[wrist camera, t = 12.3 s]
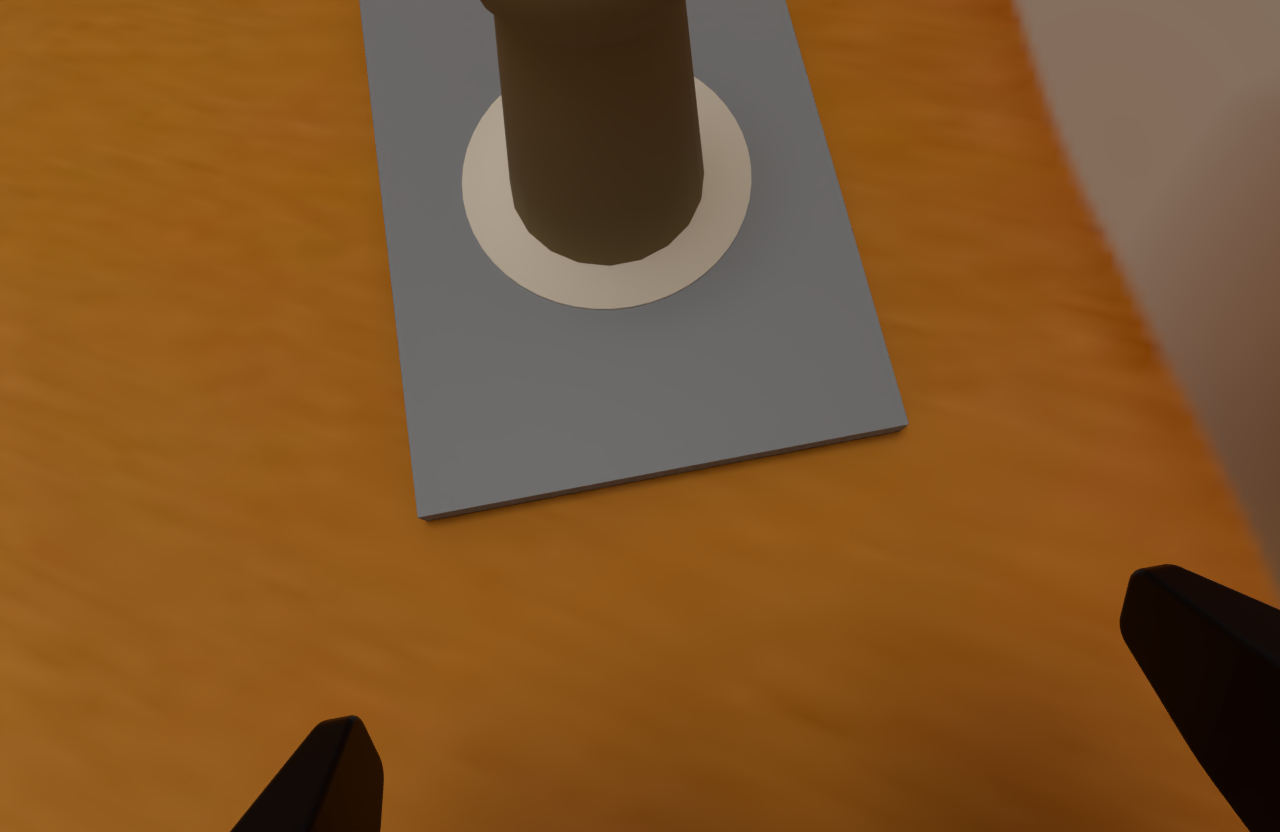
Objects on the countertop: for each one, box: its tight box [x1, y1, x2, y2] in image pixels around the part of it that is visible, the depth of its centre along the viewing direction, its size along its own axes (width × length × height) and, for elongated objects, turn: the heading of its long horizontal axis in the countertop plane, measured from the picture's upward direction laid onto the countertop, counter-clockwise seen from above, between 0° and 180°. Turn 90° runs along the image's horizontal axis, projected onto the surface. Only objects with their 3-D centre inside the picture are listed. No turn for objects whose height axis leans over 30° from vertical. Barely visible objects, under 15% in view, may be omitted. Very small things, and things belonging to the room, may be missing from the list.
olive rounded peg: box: [480, 0, 704, 266], centre depth 18 cm, size 6×6×11 cm
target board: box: [359, 0, 909, 521], centre depth 24 cm, size 19×14×1 cm
